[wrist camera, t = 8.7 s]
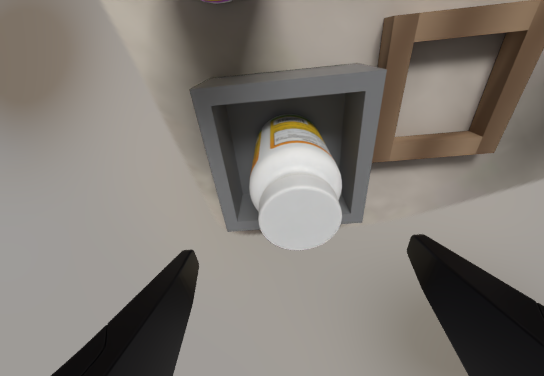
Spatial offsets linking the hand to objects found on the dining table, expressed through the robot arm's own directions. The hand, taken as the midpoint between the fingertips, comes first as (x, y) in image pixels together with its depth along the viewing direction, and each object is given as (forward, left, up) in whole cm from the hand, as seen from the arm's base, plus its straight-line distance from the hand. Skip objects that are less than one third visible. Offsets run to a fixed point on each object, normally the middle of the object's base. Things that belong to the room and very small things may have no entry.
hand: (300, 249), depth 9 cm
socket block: (-12, -3, -12) cm, 18 cm away
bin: (0, 0, -12) cm, 12 cm away
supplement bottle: (0, 0, -12) cm, 12 cm away
